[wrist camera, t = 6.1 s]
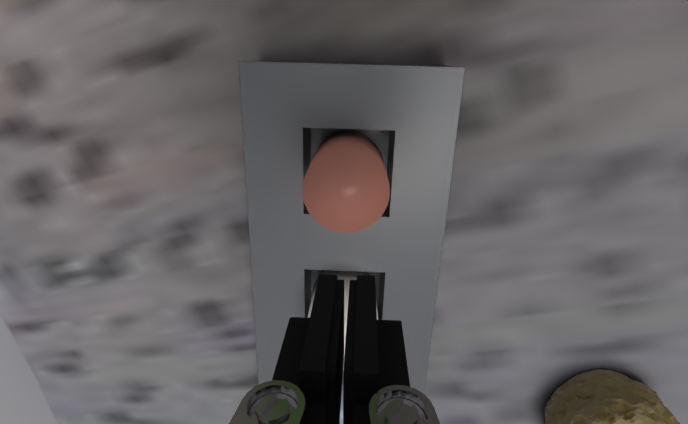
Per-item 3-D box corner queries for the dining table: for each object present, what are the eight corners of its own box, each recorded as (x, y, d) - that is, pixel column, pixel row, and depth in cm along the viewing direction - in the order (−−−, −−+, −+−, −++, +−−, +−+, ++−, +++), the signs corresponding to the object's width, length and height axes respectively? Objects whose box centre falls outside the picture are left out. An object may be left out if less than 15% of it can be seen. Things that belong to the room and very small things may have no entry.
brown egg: (312, 130, 24) (301, 147, 20) (386, 132, 24) (392, 150, 20) (312, 200, 26) (302, 231, 21) (381, 202, 26) (387, 234, 21)
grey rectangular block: (259, 60, 26) (238, 61, 22) (445, 66, 26) (464, 67, 21) (275, 411, 37) (263, 463, 32) (407, 418, 37) (414, 470, 32)
